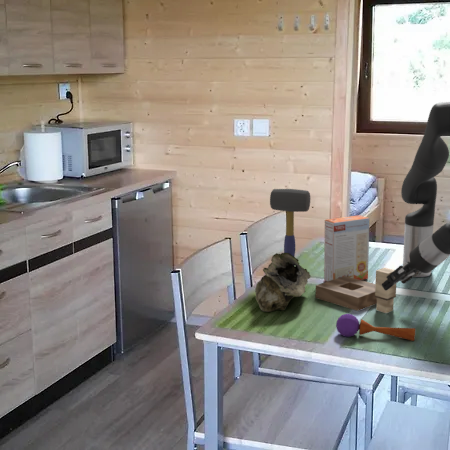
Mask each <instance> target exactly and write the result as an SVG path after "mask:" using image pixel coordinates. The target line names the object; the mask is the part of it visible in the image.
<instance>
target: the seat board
mask: <svg viewBox="0 0 450 450" xmlns="http://www.w3.org/2000/svg"><path fill="white" fill-rule="evenodd" d="M315 298H316V299H317V300H321V301H324V302H328V303H331V304H334V305H337V306H340V307H344V308H347V309H350V310H353V311H357V312H358V311H362V310H364V309H367V308H369V307H372V306H375V305H377V298H376V297H375V283H372V282H368V281H366V280H365V281H364V280H358V279H354V278H350V277H347V276H343V277H340V278H337V279H334V280H331V281H328V282H326V281H324V282H321V283H319V284H315Z"/></svg>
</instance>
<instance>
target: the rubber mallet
mask: <svg viewBox="0 0 450 450" xmlns="http://www.w3.org/2000/svg"><path fill="white" fill-rule="evenodd" d="M269 195H270V196H269V205H270V208H271V209H272V210H274V211H279V212H281V211H282V212H286V215H285V216H286V218H285V236H284V242H283V243H284V244H283V253H289V254H291V255H292V256H294V257H295V255H296V237H295V232H294V231H295V221H294V219H295V216H294V215H295V213H294V212H299V213H301V212H302V213H304V212H308V211H309V210H310V206H311V193H310V191H308V190H306V189H305V190H303V189H297V188H274V189H272V190H271V192H270V194H269ZM295 258H296V257H295ZM293 266H295V265H293Z"/></svg>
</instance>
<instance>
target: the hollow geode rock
mask: <svg viewBox="0 0 450 450" xmlns="http://www.w3.org/2000/svg"><path fill="white" fill-rule="evenodd" d="M293 265H294V266H293ZM262 272H263V273H264V275H263V276H262V277H261V279H260V280H259V281H258V282H257V283H256V285H255V287H254V288H255V290H254V292H255V300H256V302H257V304H258V306H259V308H260V310H261V311H262V312H267V313H269V312H274V311H278V310H280V311H285V310H286V308H287V307H288V305H289V303H291V300H292V299H294V298H297V297H301V296H302V295H303V294H304V293H306V285H307V284H308V281H309V279H311V274H310V271H308V269H307V268H305V267H303V266H302V265H300V262H299V259H298V258H296V257H294V256H292V255H291V254H289V253H284V252H281V253H277V252H276V253H275V254H272V257H271V262H270V263H269V264H268V267H263V269H262Z"/></svg>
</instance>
